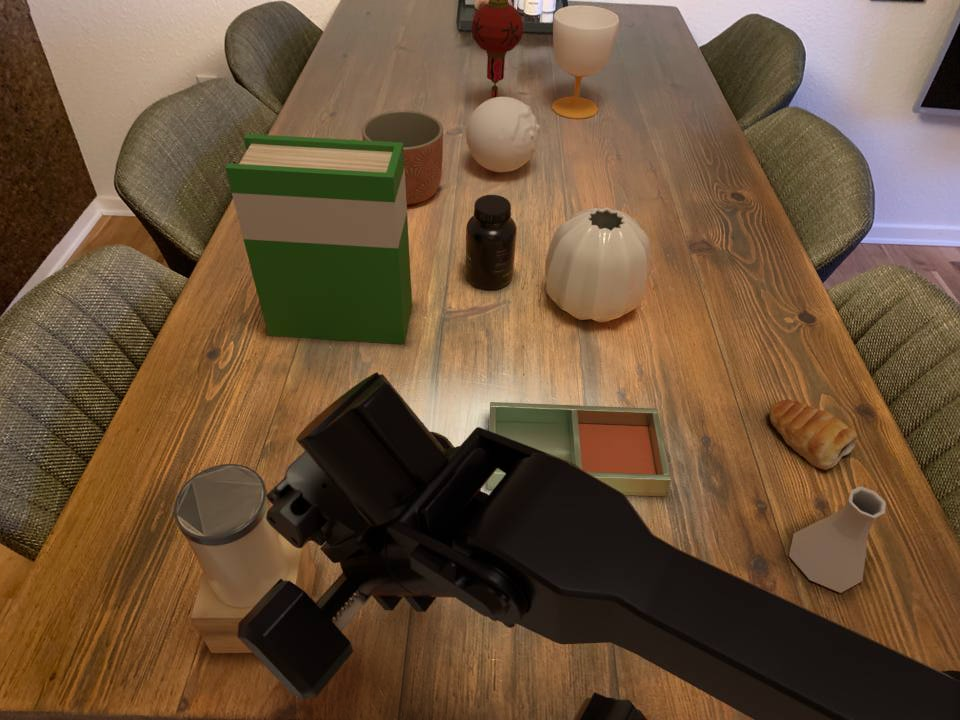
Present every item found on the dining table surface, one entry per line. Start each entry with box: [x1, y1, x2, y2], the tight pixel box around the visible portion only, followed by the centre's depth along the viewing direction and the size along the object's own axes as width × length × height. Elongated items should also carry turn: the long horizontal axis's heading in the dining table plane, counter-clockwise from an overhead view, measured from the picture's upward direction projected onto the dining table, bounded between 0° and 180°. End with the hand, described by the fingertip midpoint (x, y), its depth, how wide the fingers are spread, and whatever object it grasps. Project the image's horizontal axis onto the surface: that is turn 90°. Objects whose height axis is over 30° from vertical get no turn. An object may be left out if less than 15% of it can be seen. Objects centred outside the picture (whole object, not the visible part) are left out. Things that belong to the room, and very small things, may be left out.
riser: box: [190, 533, 317, 654], centre depth 63 cm, size 8×8×7 cm
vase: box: [544, 206, 652, 323], centre depth 93 cm, size 14×14×13 cm
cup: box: [551, 4, 620, 120], centre depth 132 cm, size 12×12×17 cm
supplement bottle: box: [464, 194, 518, 291], centre depth 97 cm, size 7×7×12 cm
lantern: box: [470, 0, 524, 99], centre depth 127 cm, size 10×10×30 cm
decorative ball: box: [465, 96, 541, 173], centre depth 118 cm, size 12×12×12 cm
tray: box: [486, 401, 672, 498], centre depth 78 cm, size 10×19×3 cm, turn 88°
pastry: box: [769, 399, 858, 471], centre depth 80 cm, size 9×7×4 cm
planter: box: [361, 109, 444, 205], centre depth 112 cm, size 12×12×11 cm
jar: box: [173, 463, 289, 608], centre depth 57 cm, size 7×7×11 cm
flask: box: [788, 485, 887, 594], centre depth 67 cm, size 7×7×10 cm
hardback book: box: [225, 133, 413, 345], centre depth 85 cm, size 18×7×24 cm, turn 86°
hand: (323, 556), depth 54 cm, fingers open, 9 cm apart
